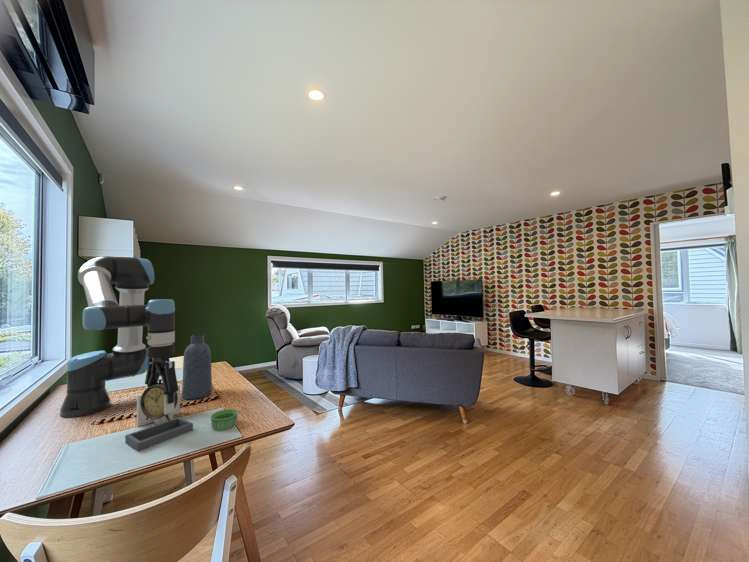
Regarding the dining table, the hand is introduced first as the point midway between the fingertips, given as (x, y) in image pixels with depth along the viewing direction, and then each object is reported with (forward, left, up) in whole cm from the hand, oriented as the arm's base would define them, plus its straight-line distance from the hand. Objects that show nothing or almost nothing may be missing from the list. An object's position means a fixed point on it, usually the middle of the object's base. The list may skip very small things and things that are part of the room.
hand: (160, 409), depth 101 cm
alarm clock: (0, 0, -4) cm, 4 cm away
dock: (0, 0, -9) cm, 9 cm away
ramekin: (+11, +16, -10) cm, 22 cm away
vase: (-30, +27, -9) cm, 42 cm away
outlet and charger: (-11, +6, -9) cm, 15 cm away
